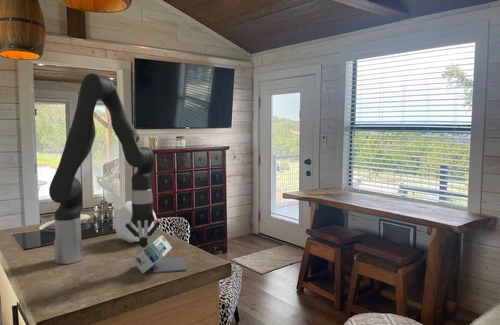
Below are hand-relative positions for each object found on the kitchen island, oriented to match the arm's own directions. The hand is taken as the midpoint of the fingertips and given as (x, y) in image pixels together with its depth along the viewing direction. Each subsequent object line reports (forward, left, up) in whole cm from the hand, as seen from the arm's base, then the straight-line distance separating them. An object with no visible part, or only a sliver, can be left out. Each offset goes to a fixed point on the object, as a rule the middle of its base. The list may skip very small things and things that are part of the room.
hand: (143, 246), depth 146 cm
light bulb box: (-1, 0, -6) cm, 6 cm away
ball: (-6, +38, -9) cm, 39 cm away
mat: (+9, +2, -8) cm, 13 cm away
